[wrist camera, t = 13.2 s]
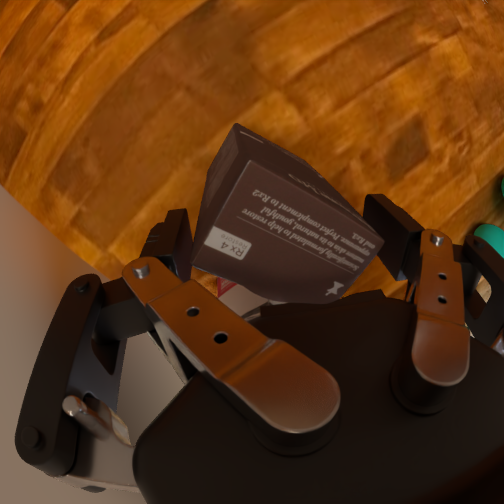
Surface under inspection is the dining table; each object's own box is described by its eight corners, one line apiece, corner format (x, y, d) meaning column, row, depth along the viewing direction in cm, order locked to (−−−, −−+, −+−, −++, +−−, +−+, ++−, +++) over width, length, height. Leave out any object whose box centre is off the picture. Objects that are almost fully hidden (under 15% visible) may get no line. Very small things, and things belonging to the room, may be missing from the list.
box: (307, 157, 19) (392, 244, 9) (275, 205, 21) (319, 325, 11) (234, 115, 17) (249, 157, 7) (204, 170, 19) (182, 276, 9)
